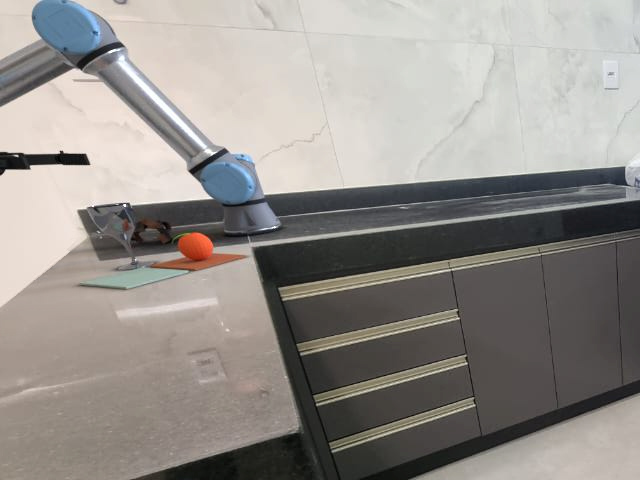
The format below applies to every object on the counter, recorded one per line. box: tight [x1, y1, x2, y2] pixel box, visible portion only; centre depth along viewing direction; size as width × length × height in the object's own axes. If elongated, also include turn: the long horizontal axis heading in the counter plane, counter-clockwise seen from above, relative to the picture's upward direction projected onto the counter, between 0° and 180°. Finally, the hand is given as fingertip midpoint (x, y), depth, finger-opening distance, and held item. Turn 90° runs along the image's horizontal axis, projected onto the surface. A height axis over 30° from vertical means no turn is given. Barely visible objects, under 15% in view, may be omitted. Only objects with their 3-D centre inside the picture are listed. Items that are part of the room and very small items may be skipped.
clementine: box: [171, 231, 214, 260], centre depth 133 cm, size 8×7×7 cm
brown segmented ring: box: [130, 217, 174, 244], centre depth 160 cm, size 12×10×8 cm
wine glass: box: [86, 202, 155, 271], centre depth 131 cm, size 8×8×15 cm
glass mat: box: [79, 267, 189, 290], centre depth 122 cm, size 13×16×1 cm
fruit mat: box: [149, 252, 247, 272], centre depth 135 cm, size 13×16×1 cm
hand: (58, 161), depth 124 cm, fingers open, 13 cm apart
